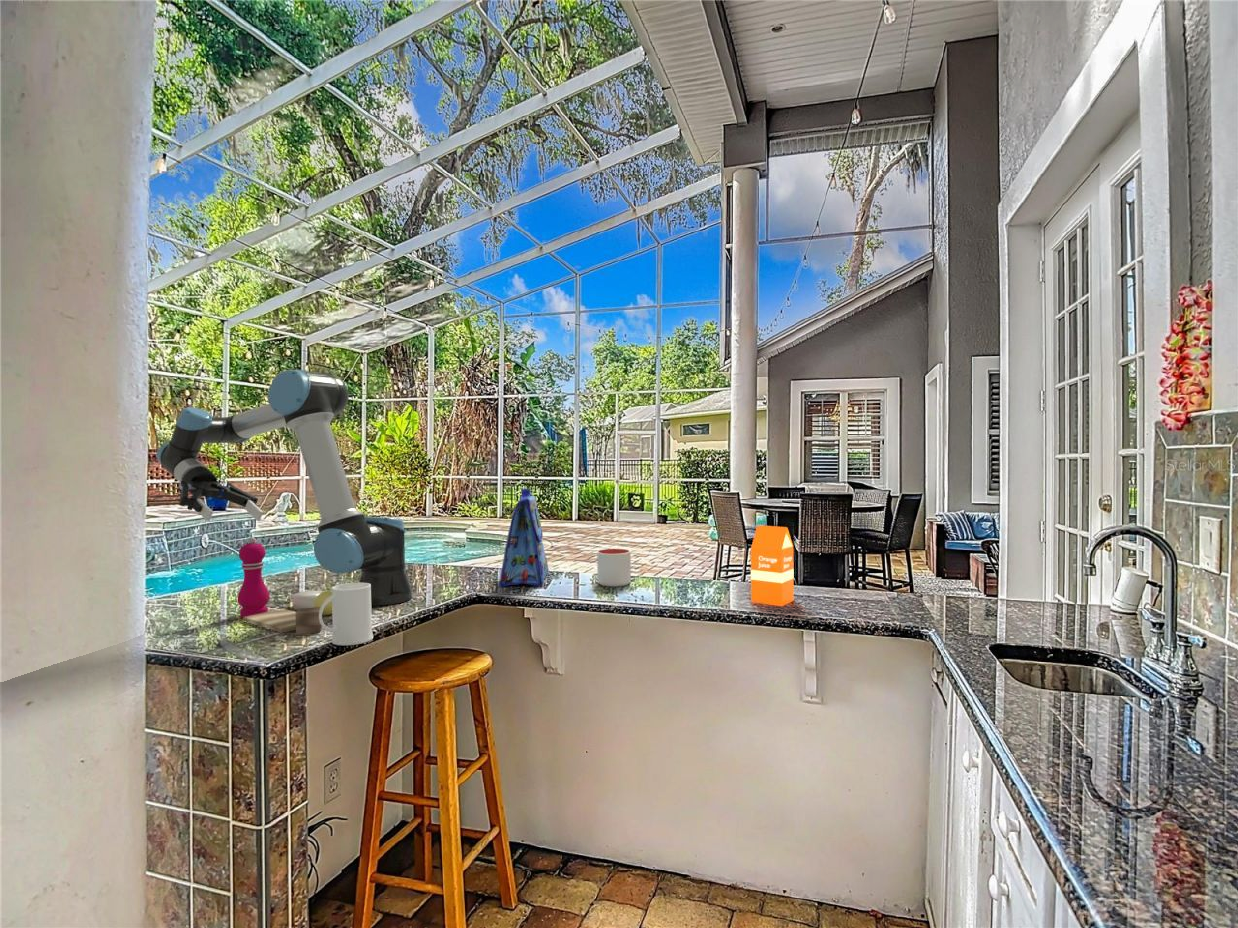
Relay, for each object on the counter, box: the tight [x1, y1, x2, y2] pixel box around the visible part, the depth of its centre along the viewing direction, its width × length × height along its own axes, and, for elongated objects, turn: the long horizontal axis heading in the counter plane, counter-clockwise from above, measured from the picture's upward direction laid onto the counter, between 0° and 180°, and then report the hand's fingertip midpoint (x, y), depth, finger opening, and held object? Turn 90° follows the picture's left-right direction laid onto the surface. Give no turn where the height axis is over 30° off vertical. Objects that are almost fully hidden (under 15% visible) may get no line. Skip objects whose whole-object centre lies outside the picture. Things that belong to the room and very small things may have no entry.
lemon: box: [314, 590, 332, 616], centre depth 173 cm, size 6×6×6 cm
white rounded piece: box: [291, 590, 325, 610], centre depth 183 cm, size 8×8×4 cm
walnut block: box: [295, 607, 322, 636], centre depth 158 cm, size 5×5×5 cm
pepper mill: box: [237, 536, 271, 618], centre depth 174 cm, size 7×7×20 cm
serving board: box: [242, 608, 296, 634], centre depth 166 cm, size 18×10×1 cm, turn 54°
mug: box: [319, 581, 374, 646], centre depth 149 cm, size 12×8×12 cm
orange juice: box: [750, 524, 795, 607], centre depth 181 cm, size 8×9×20 cm
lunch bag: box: [499, 487, 550, 587], centre depth 214 cm, size 22×14×29 cm, turn 1°
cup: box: [596, 548, 632, 588], centre depth 206 cm, size 10×10×10 cm
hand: (236, 516), depth 178 cm, fingers open, 13 cm apart
